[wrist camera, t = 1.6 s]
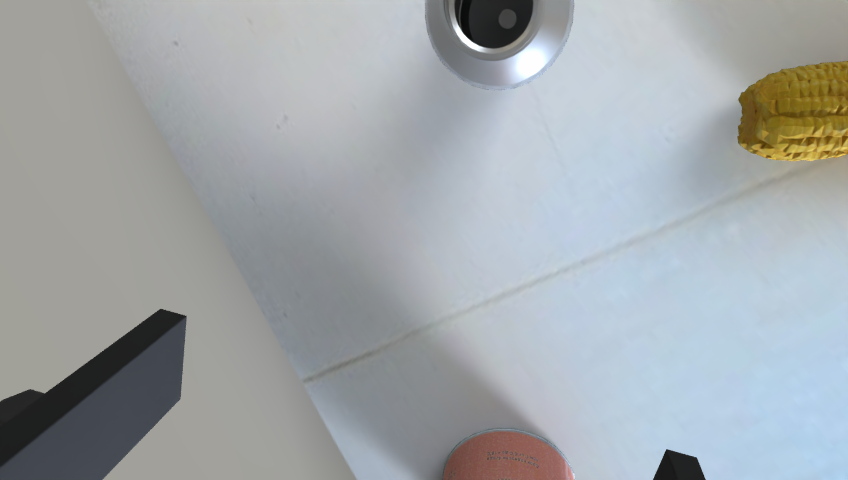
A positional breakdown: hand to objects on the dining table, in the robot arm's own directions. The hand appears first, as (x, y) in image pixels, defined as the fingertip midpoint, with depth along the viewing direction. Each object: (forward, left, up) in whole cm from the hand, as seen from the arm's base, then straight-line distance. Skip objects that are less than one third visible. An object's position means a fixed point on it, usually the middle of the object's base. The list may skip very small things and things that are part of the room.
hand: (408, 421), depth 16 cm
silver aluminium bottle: (+5, +10, -29) cm, 31 cm away
